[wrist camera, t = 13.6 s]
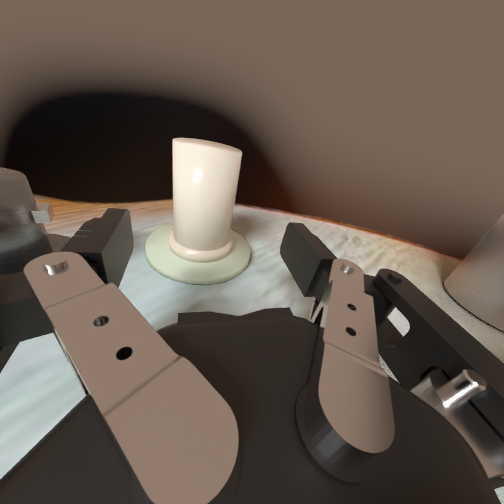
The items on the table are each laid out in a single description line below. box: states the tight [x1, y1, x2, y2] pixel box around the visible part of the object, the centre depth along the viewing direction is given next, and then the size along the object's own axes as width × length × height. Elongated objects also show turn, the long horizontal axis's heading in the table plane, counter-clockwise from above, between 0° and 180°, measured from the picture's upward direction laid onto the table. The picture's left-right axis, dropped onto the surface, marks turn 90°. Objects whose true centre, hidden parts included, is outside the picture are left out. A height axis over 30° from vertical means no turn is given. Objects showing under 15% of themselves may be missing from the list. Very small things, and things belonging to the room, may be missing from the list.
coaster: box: [145, 224, 251, 285], centre depth 22 cm, size 10×10×1 cm
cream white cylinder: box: [169, 138, 242, 263], centre depth 19 cm, size 6×6×9 cm
